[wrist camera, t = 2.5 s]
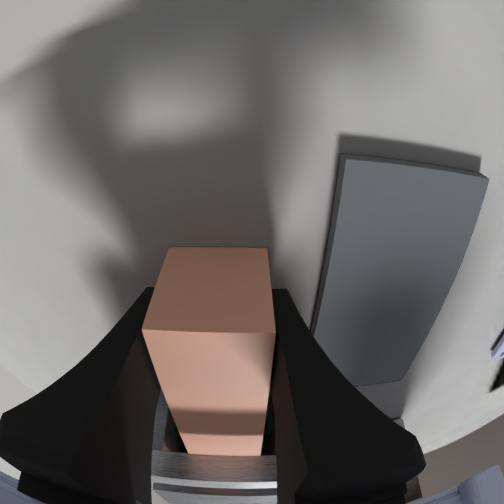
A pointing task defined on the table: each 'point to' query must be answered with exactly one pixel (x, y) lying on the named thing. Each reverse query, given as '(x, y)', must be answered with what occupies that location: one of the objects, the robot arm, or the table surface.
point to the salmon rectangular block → (214, 345)
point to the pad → (391, 261)
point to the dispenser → (211, 467)
